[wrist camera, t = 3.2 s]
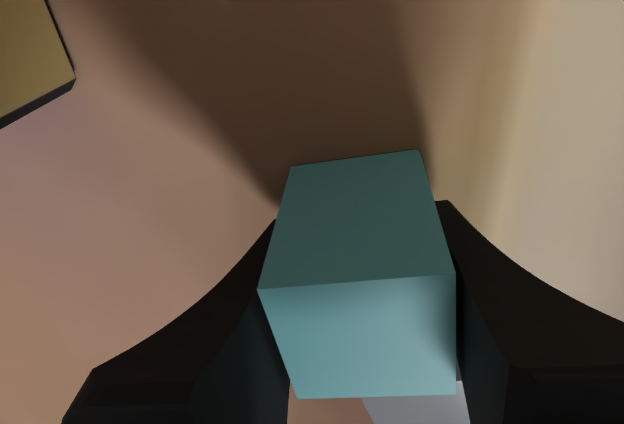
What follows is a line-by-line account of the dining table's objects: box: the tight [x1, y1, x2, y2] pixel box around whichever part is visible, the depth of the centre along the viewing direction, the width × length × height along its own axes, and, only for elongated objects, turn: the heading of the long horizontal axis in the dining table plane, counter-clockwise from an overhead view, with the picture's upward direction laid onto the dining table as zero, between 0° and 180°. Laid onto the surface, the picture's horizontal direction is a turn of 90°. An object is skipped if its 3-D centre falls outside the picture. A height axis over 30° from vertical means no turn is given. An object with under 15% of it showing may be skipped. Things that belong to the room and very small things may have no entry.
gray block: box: [360, 357, 470, 424], centre depth 19 cm, size 9×9×2 cm
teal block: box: [257, 149, 456, 399], centre depth 11 cm, size 4×4×6 cm
